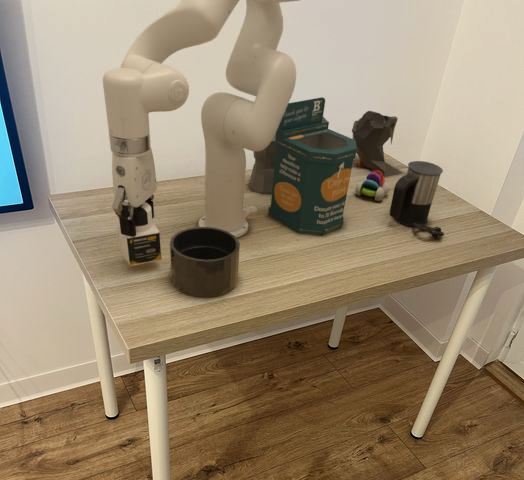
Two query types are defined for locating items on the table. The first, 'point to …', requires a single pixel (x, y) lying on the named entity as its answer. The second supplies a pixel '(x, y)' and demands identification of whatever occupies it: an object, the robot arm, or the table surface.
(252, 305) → the table surface
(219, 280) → the bucket
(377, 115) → the grey walrus sculpture
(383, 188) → the rainbow caterpillar toy
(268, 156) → the coffeepot
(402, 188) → the milk frother
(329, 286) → the table surface
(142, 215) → the medicine bottle
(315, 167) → the donation box
